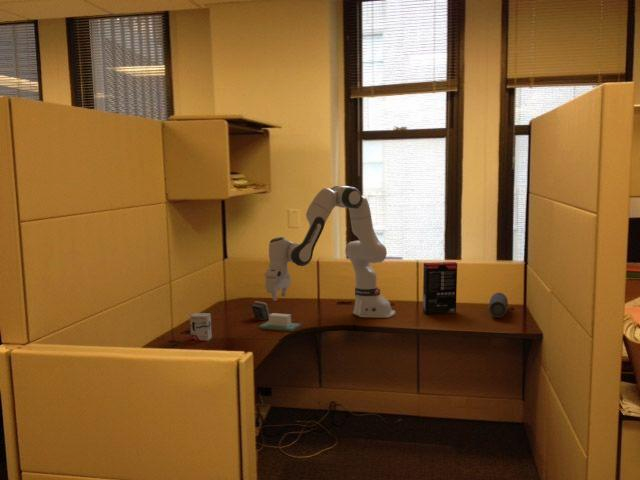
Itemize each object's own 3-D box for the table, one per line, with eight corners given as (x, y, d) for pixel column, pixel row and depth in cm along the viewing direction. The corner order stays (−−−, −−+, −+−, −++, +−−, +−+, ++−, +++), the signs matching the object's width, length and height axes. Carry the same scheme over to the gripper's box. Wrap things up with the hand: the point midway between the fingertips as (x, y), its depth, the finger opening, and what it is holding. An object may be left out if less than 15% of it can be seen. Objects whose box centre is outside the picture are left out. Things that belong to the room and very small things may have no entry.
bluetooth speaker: (507, 320, 288) (507, 301, 287) (488, 319, 291) (488, 300, 290) (508, 310, 309) (508, 291, 308) (490, 309, 312) (490, 291, 311)
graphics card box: (452, 310, 311) (453, 260, 308) (457, 313, 305) (457, 262, 302) (422, 312, 309) (422, 262, 306) (426, 315, 302) (426, 264, 299)
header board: (300, 326, 286) (300, 316, 285) (292, 331, 277) (291, 321, 276) (268, 323, 293) (268, 314, 292) (259, 328, 284) (259, 319, 283)
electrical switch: (271, 319, 301) (269, 302, 300) (263, 322, 298) (261, 305, 296) (259, 316, 308) (257, 299, 306) (251, 319, 304) (249, 302, 302)
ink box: (190, 340, 265) (189, 315, 264) (194, 337, 270) (193, 312, 269) (208, 340, 264) (207, 315, 263) (212, 337, 269) (210, 313, 268)
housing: (291, 324, 285) (290, 314, 284) (287, 326, 281) (286, 316, 280) (273, 322, 289) (272, 313, 288) (268, 325, 284) (268, 315, 284)
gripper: (282, 267, 292) (283, 293, 294) (263, 274, 274) (264, 302, 275) (293, 267, 290) (294, 294, 292) (274, 274, 271) (275, 303, 273)
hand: (279, 298), depth 283 cm, fingers open, 8 cm apart
